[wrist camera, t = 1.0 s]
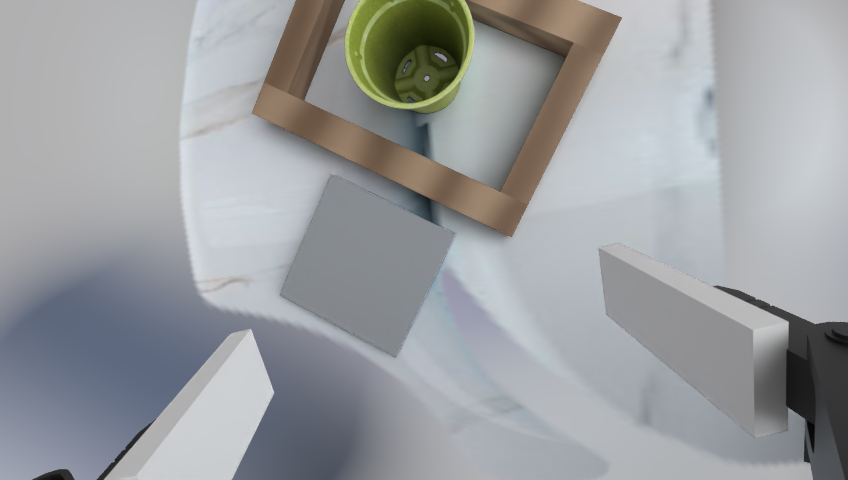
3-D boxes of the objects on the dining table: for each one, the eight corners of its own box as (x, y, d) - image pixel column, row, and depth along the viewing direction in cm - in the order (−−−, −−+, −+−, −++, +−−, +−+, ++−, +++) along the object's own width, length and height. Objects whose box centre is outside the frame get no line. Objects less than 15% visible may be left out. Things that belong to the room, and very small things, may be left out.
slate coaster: (456, 233, 37) (455, 234, 36) (397, 354, 39) (395, 357, 38) (335, 175, 39) (331, 174, 38) (284, 293, 41) (279, 294, 40)
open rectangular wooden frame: (610, 34, 34) (621, 17, 31) (509, 235, 36) (511, 237, 34) (346, -70, 37) (333, -95, 34) (269, 121, 40) (251, 113, 37)
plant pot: (443, 151, 37) (429, 132, 29) (360, 101, 38) (321, 68, 30) (498, 59, 36) (500, 10, 27) (410, 10, 37) (385, -52, 28)
